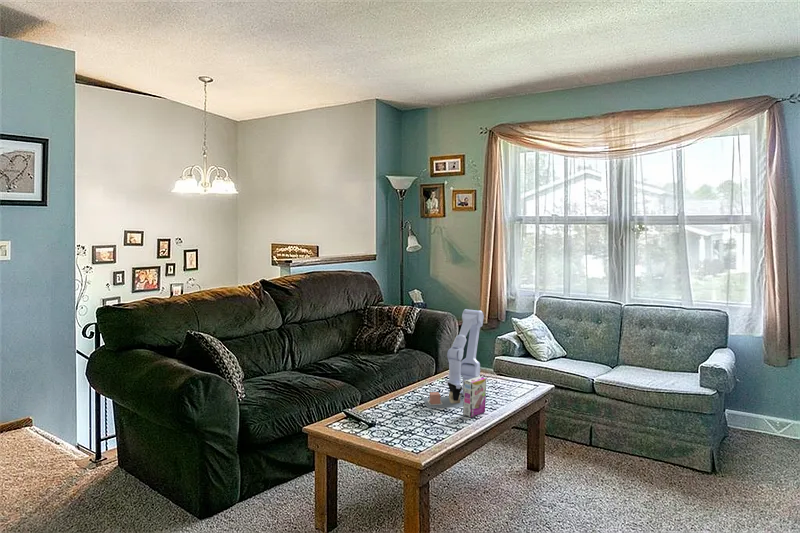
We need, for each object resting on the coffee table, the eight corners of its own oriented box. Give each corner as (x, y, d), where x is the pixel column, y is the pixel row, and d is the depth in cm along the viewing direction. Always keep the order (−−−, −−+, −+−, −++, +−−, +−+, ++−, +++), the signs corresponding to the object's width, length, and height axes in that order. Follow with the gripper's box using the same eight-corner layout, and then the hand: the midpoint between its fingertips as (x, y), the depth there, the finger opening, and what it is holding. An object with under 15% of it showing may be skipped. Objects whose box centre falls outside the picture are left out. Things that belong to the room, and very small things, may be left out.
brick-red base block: (438, 400, 276) (438, 392, 275) (440, 403, 271) (440, 394, 271) (429, 401, 275) (429, 392, 274) (431, 404, 270) (431, 395, 270)
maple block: (457, 400, 277) (457, 391, 277) (460, 402, 273) (460, 393, 272) (449, 400, 276) (449, 391, 276) (451, 403, 272) (451, 394, 272)
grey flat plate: (460, 396, 283) (460, 396, 283) (468, 406, 267) (468, 406, 267) (421, 398, 280) (421, 397, 280) (428, 408, 264) (428, 408, 264)
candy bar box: (471, 418, 252) (471, 382, 251) (462, 415, 255) (463, 380, 254) (486, 412, 260) (486, 378, 258) (477, 409, 263) (478, 376, 262)
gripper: (443, 368, 280) (443, 394, 281) (450, 376, 266) (450, 403, 267) (457, 368, 281) (456, 394, 282) (464, 375, 267) (464, 403, 268)
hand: (454, 398), depth 274 cm, fingers closed on maple block, 4 cm apart
